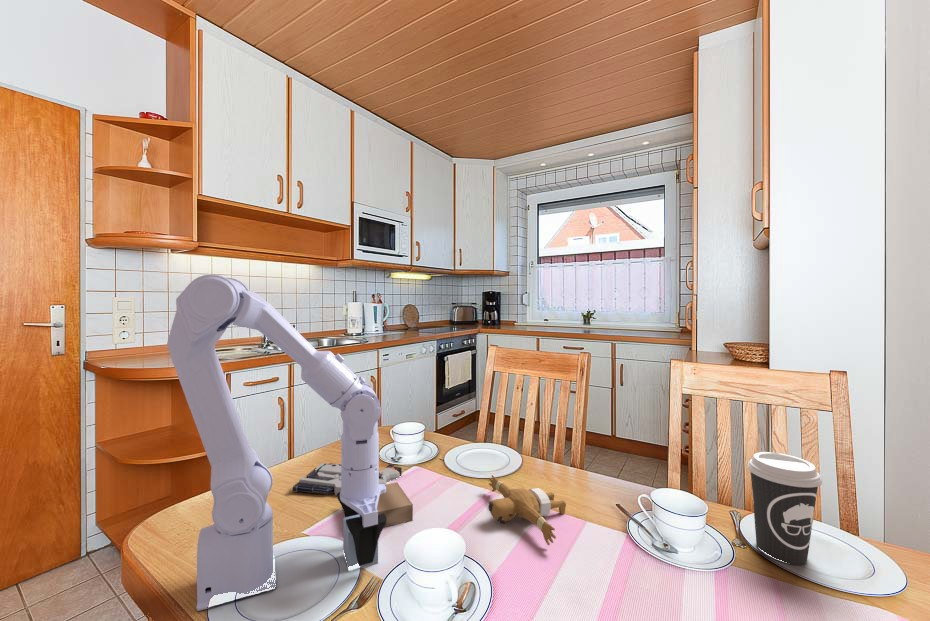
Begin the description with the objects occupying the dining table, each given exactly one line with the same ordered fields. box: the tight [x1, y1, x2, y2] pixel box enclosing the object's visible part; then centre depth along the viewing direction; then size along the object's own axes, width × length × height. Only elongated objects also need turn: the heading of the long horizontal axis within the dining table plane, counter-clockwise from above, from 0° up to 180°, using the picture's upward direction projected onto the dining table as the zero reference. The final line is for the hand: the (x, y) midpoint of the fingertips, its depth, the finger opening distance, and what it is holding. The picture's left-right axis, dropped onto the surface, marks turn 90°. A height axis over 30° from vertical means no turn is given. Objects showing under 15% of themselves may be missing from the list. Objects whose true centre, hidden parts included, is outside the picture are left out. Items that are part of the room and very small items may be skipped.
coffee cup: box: [746, 451, 823, 566], centre depth 66 cm, size 10×10×15 cm
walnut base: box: [377, 482, 414, 528], centre depth 77 cm, size 10×10×3 cm
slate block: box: [342, 514, 379, 569], centre depth 64 cm, size 4×4×6 cm
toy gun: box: [292, 462, 403, 497], centre depth 90 cm, size 3×20×15 cm
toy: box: [488, 474, 567, 546], centre depth 76 cm, size 16×16×5 cm
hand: (360, 548), depth 64 cm, fingers open, 7 cm apart
